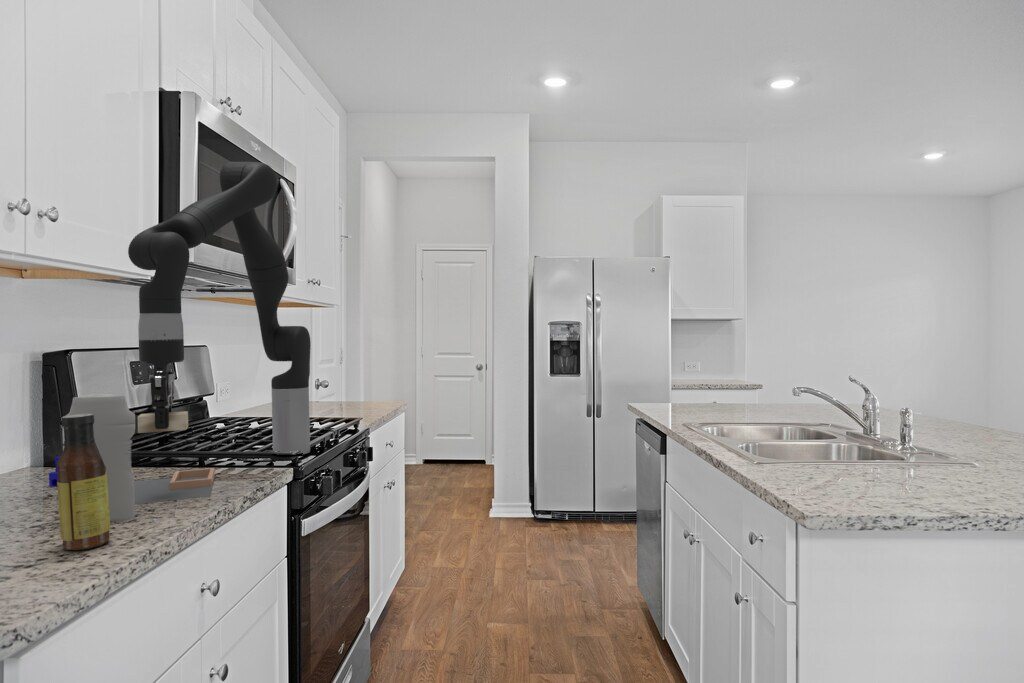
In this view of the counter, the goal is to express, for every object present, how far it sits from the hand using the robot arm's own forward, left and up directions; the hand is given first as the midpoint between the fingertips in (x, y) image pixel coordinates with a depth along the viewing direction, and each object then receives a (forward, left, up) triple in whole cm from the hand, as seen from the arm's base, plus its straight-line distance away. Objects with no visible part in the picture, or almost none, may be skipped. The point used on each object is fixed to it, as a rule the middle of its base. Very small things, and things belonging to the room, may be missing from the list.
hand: (163, 426), depth 120 cm
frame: (-11, +4, -14) cm, 18 cm away
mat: (-7, 0, -14) cm, 16 cm away
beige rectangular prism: (0, 0, -1) cm, 1 cm away
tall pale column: (+12, -8, -14) cm, 20 cm away
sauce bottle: (+24, -8, -14) cm, 29 cm away
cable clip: (-21, -18, -15) cm, 31 cm away
